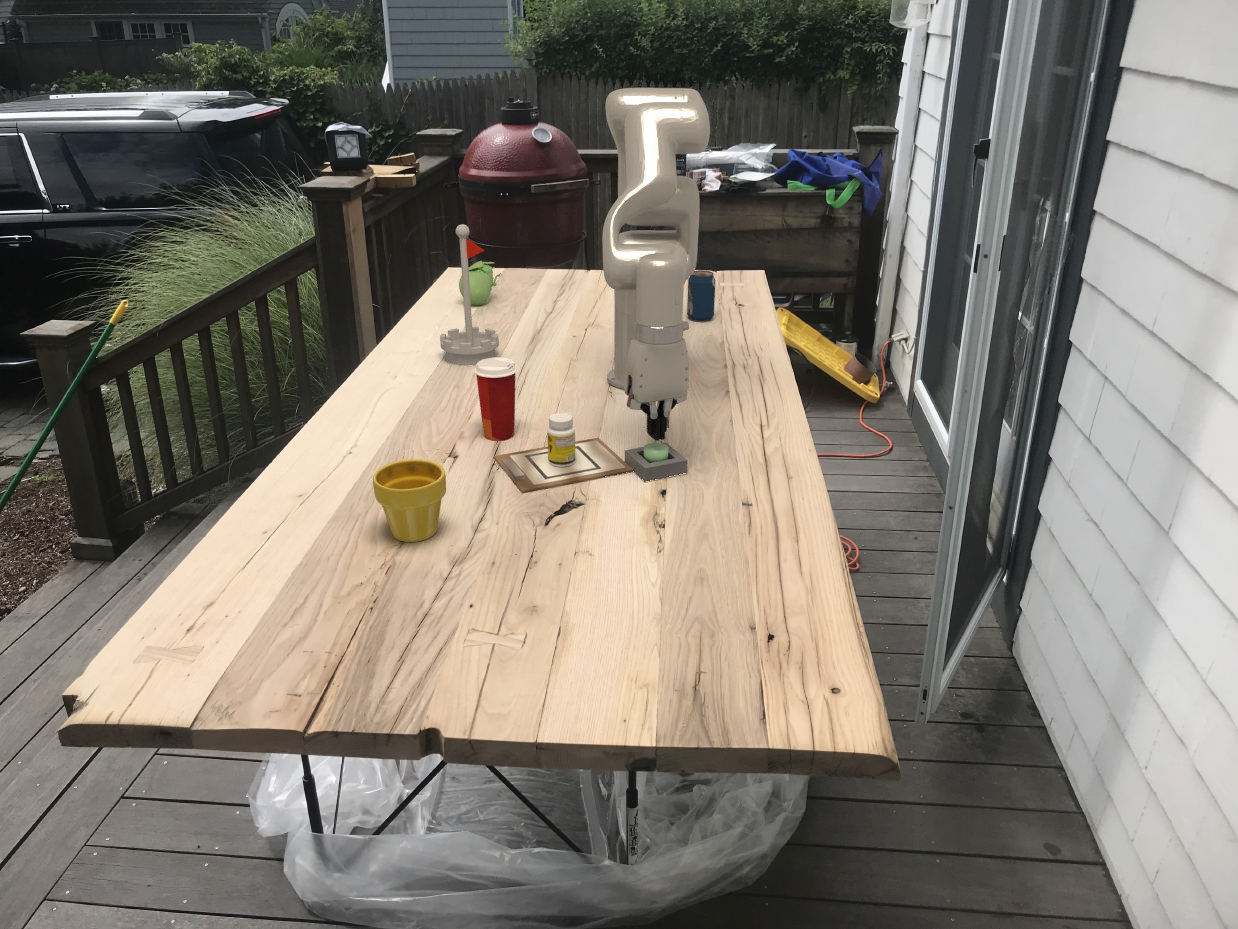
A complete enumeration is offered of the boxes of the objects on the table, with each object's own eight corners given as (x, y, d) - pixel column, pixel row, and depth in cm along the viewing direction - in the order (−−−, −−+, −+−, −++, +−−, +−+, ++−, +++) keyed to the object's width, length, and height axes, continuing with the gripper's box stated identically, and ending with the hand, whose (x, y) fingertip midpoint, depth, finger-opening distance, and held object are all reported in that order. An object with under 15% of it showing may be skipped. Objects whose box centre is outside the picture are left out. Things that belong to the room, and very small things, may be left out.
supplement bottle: (548, 456, 166) (546, 412, 163) (574, 455, 166) (574, 411, 163) (548, 468, 162) (547, 422, 158) (576, 467, 162) (575, 421, 159)
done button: (661, 454, 165) (661, 440, 164) (672, 464, 161) (672, 450, 160) (639, 458, 163) (639, 445, 162) (650, 468, 160) (650, 454, 159)
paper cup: (526, 430, 178) (523, 359, 172) (509, 445, 172) (505, 372, 166) (488, 424, 180) (484, 354, 174) (470, 439, 174) (465, 367, 168)
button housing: (665, 456, 168) (666, 442, 167) (687, 473, 161) (687, 460, 160) (624, 463, 165) (624, 450, 164) (644, 482, 158) (645, 468, 157)
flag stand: (430, 362, 213) (419, 227, 200) (460, 346, 224) (451, 216, 211) (481, 370, 208) (473, 232, 196) (509, 352, 219) (503, 221, 207)
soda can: (718, 317, 246) (720, 272, 241) (705, 324, 240) (707, 277, 235) (694, 313, 249) (696, 268, 244) (681, 320, 244) (683, 273, 239)
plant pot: (416, 556, 136) (410, 495, 132) (364, 537, 141) (357, 478, 137) (463, 526, 144) (459, 468, 140) (413, 509, 149) (407, 453, 145)
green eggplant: (499, 309, 252) (497, 268, 247) (457, 309, 252) (455, 268, 247) (505, 297, 263) (503, 258, 258) (465, 297, 263) (462, 257, 258)
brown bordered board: (598, 439, 174) (598, 433, 174) (633, 471, 162) (633, 465, 161) (493, 458, 167) (493, 451, 166) (522, 493, 154) (522, 486, 154)
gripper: (688, 321, 159) (684, 423, 166) (606, 331, 153) (607, 436, 160) (710, 333, 152) (706, 438, 160) (626, 344, 147) (625, 452, 154)
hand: (656, 437), depth 160 cm, fingers closed
